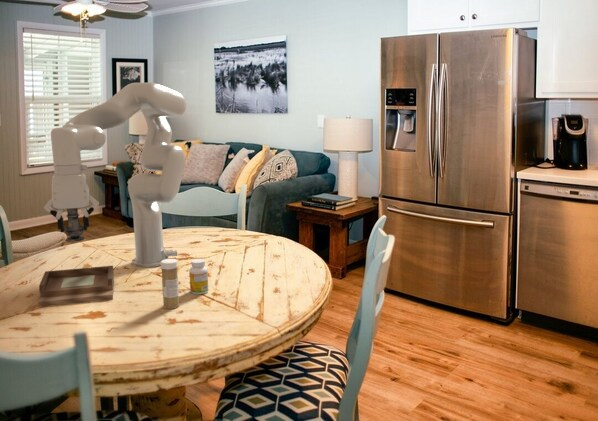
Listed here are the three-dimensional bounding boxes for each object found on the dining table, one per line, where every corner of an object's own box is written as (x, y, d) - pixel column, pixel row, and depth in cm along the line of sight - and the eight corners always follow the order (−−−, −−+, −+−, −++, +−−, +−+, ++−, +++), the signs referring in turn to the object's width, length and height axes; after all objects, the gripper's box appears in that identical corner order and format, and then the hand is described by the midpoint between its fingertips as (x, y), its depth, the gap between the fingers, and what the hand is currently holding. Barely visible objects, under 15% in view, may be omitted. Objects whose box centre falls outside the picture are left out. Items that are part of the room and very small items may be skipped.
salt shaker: (78, 242, 173) (74, 202, 171) (60, 241, 175) (56, 201, 172) (89, 237, 179) (85, 198, 176) (71, 236, 180) (68, 197, 178)
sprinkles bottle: (163, 304, 169) (160, 258, 166) (179, 303, 169) (177, 257, 167) (162, 310, 164) (160, 263, 161) (179, 308, 165) (177, 262, 162)
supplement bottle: (191, 289, 181) (189, 258, 179) (209, 288, 181) (207, 257, 179) (189, 295, 176) (188, 263, 174) (207, 294, 176) (206, 263, 174)
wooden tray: (114, 280, 190) (112, 265, 189) (112, 299, 173) (111, 283, 172) (46, 286, 184) (45, 271, 183) (38, 306, 167) (37, 290, 166)
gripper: (99, 166, 178) (105, 225, 182) (38, 170, 174) (44, 229, 177) (98, 170, 171) (104, 231, 175) (34, 173, 166) (41, 235, 170)
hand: (74, 229), depth 176 cm, fingers closed on salt shaker, 5 cm apart
